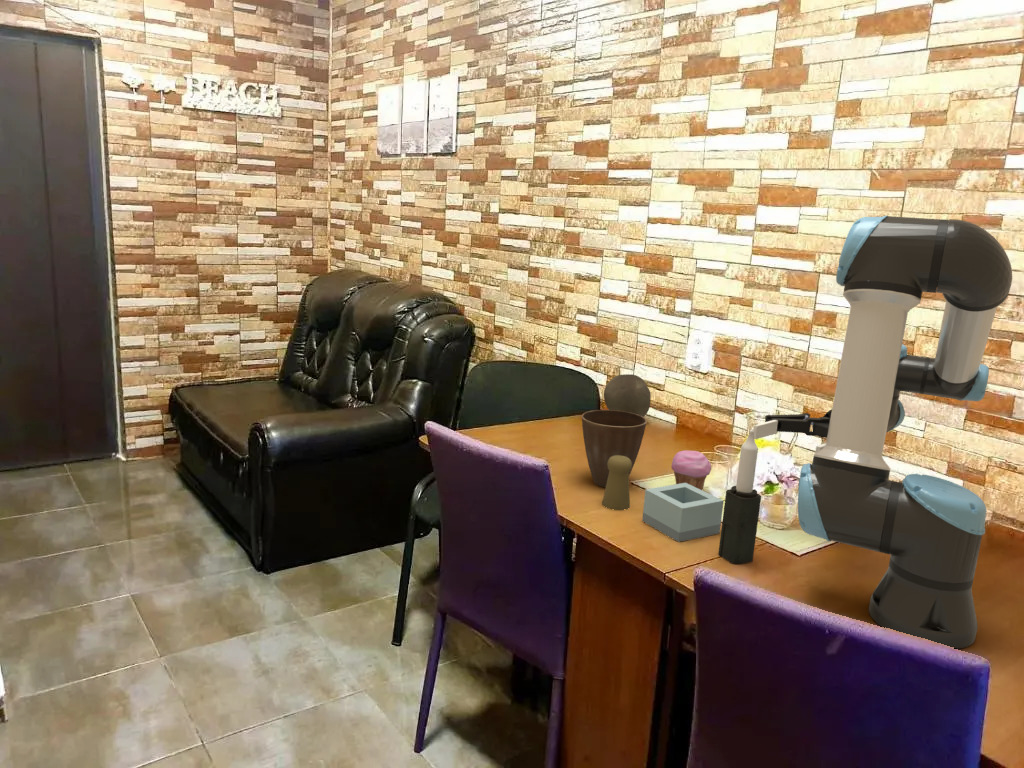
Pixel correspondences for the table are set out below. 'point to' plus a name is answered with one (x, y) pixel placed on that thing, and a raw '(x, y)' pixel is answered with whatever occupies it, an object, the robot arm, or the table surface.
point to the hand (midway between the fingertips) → (784, 442)
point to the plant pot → (610, 439)
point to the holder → (682, 511)
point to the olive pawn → (617, 483)
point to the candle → (741, 509)
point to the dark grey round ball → (627, 394)
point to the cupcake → (691, 468)
